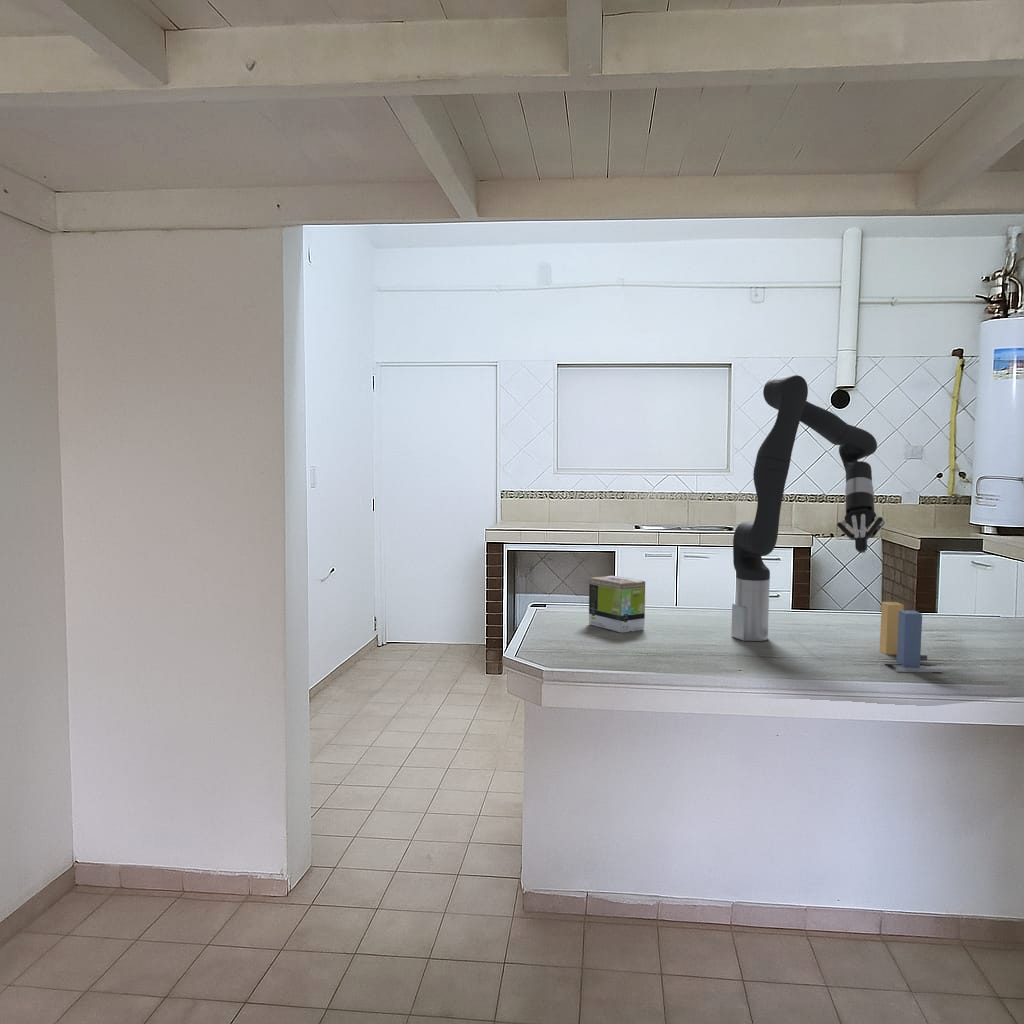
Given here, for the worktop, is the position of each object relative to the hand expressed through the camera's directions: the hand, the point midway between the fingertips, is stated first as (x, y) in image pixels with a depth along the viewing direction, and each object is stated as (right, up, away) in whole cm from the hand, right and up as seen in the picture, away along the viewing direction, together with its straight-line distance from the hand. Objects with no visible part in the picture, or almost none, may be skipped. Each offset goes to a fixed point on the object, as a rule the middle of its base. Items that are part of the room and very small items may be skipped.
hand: (861, 551), depth 234 cm
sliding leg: (+2, -26, -16) cm, 30 cm away
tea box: (-66, -24, +18) cm, 73 cm away
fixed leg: (+2, -27, -26) cm, 37 cm away
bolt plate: (+2, -27, -17) cm, 32 cm away
